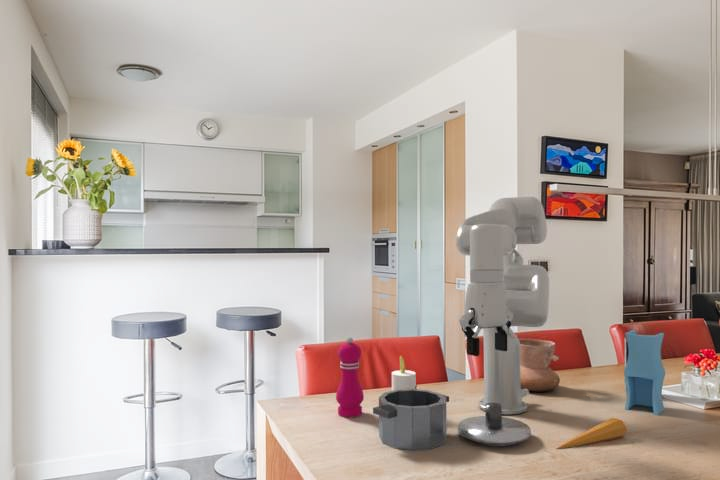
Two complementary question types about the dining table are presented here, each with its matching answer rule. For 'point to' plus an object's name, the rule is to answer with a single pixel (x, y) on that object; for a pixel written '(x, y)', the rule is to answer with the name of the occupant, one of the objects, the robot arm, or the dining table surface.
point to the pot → (412, 419)
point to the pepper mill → (349, 381)
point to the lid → (494, 428)
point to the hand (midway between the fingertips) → (487, 352)
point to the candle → (403, 378)
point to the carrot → (599, 433)
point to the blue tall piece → (644, 371)
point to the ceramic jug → (537, 365)
